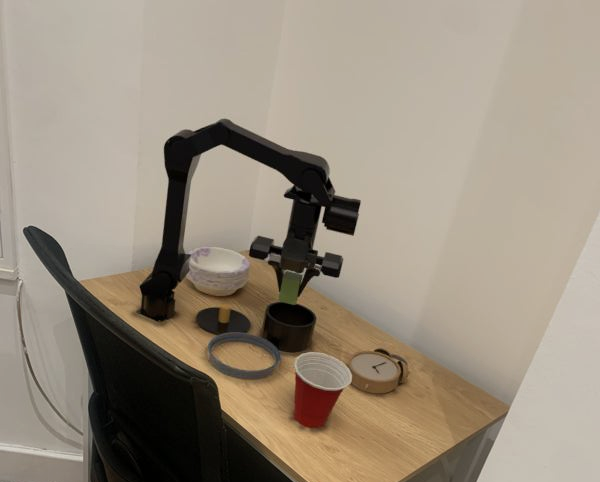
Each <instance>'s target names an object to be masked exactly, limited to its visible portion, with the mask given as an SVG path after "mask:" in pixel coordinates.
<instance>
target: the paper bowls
mask: <svg viewBox="0 0 600 482" xmlns="http://www.w3.org/2000/svg"><path fill="white" fill-rule="evenodd" d="M187 254H191V259H190V261H189V268H190V271H189V272H188V274H187V275H186V276H185V278H187V279H188V280H189V281H190V282H191V283H192V284H193V286H194V287H195V288H196V289H197V290H198V291H199V292H202V293H203V294H207V295H210V296H216V297H227V296H230V295H233V294H234V293H235V292H236V291H237V290H239V289H241V288H243V287H245V286H246V285H247V283H248V280H249V279H248V278H249V272H250V265H251V264H250V261H249V259H248V258H247V257H246V256H244V255H243V254H241V253H239V252H237V251H235V250H231V249H227V248H223V247H216V246H203V247H197V248H194V249H191V250H190V251H188V252H187Z"/></svg>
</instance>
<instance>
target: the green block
mask: <svg viewBox="0 0 600 482" xmlns="http://www.w3.org/2000/svg"><path fill="white" fill-rule="evenodd" d="M302 280H303V274H302V273H296V272H294V271H290V270H285V272H284V276H283V280H282V285H281V290H280V292H279V296H278V302H284V303H288V304H292V305H295V304H296V303H297V301H298V298H299V297H297V296H298V291H299V288H300V285H301V282H302Z"/></svg>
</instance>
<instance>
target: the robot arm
mask: <svg viewBox="0 0 600 482" xmlns="http://www.w3.org/2000/svg"><path fill="white" fill-rule="evenodd" d="M219 146H223V147H225V148H228V149H230V150H232V151H235V152H236V153H238V154H240V155H243V156H245V157H247V158H250V159H251V160H253V161H256V162H257V163H260V164H262V165H264V166H267V167H268V168H270V169H272V170H275V171H276V172H278V173H280V174H281V175H283V177H284V178H286V180H287V181H288V182H289V183H291V184H292V186H291V187H289V188H287V189H286V190H285V192H284V193H283V198H285V199H288V200H292V203H291V204H292V205H291V210H290V214H289V220H288V225H287V231H286V236H285V239H284V241H283V243H282V246H279V245H275V239H274V238H270V237H266V236H263V235H257V236H256V237H254V239H253V240H252V242H251V244H250V246H249V251H248V256H249V257H250V258H252V259H256V260H261V261H264V260H266V259H268V257H269V259H268V261H267V265H268V266H271V267H272V268H273V270H274V273H275V276H276V282H277V287H278V292H279V293H280V290H281V285H282V280H283V276H284V274H285V272H286V271H289V272H293V273H297V274H302V273H304V274H303V276H302V280H301V285H300V288H299V291H298V296H297V297H298V298H300V296H301V295H302V293H303V291H304V290H305V288H306V286H307V285H308V283H309V282H310V281H311V279H313V278H314V277H320V276H321V274H322V275H323V276H327V277H331V278H334V279H337V278H340V275H341V271H342V267H343V263H344V257H343V256H342V255H340V254H336V253H333V252H327V251H325V253H324V256H322V255H318V254H319V250H318V249H317V250H316V249H314V246H315V242H316V241H315V240H316V237H317V231H318V228H319V221H320V217H321V213H322V209H323V208H324V210H323V215H322V218H321V219H322V220H321V223H322V224H323V227H325V230H327V231H332V232H335V233H339V234H344V235H348V236H351V237H353V236H354V235H355V232H356V228H357V225H358V220H359V215H360V214H359V211H360V207H361V203H362V201H361V199H358V198H349V197H346V196H341V195H337V194H336V190H335V187H334V185H333V182H332V181H331V178H330V174H331V173H330V172H331V170H330V165H329V162H328V161H327V160H326V159H325V157H322V156H321V155H317V154H314V153H310V152H306V151H302V150H301V151H300V150H293V149H289V148H287V147H285V146H283V145H280V144H279V143H276V142H274V141H272V140H269V138H265V137H263V136H261V135H259V134H257V133H255V132H253V131H251V130H249V129H247V128H244V127H242V126H240V125H238V124H236V123H235V122H233V121H232V120H230V119H228V118H220V119H219V120H217V121H215V122H214V123H211V124H207V125H205V126H203V127H201V128H198V129H195V130H194V131H193V130H191V129H186V128H185V129H181V130H179V131H178V132H176V133H175V134H174V135H172V136H170V137H169V138H168V139H166V141H165V143H164V144H163V157H164V158H163V159H164V160H163V162H164V169H165V171H166V172H165V173H166V176H167V182H168V183H167V191H166V201H165V208H164V221H163V229H162V239H161V247H160V249H159V252H158V254H157V257H156V259H155V261H154V264H153V267H152V271H151V272H150V273H149V274H148V275H147V277H145V279H144V280H143V281H142V282H141V283H140V284H139V287H138V288H139V290H140V293H141V302H140V303H141V304H140V309H138V310H136V311H135V312H136V314H139V315H141V316H143V317H145V318H148V319H150V320H152V321H154V322H157V323H162V322H164V321H167V320H169V319H171V318H173V317H174V316H175V315H176V314H177V311H175V309H176V299H175V291H174V290H175V289H176V288H177V287H178V286H179V285H180V283H182V281H184V279H185V278H186V275H187V274H188V272H189V271H190V268H189V261H190V259H191V254H188V253H186V251H185V248H184V240H185V233H186V226H187V216H188V209H189V208H188V207H189V202H190V193H191V184H192V180H193V177H194V175H195V173H196V171H197V168H198V165H199V162H200V159H201V156H202V154H204V153H206V152H209V151H210V150H212V149H215V148H217V147H219Z"/></svg>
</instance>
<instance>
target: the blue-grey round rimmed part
mask: <svg viewBox="0 0 600 482" xmlns="http://www.w3.org/2000/svg"><path fill="white" fill-rule="evenodd" d="M227 343H228V344H229V343H244V344H250V345H252V346H256V347H258V348H261V349H263V351H265V352H267V353H268V354H269V355H270V356H271V357H272V359H273V361H274V363H273V365H271V366H269V367H267V368H264V369H255V370H251V369H250V370H249V369H242V368H241V369H240V368H236V367H232V366H230V365H228V364H225V363H223V362H222V361H220V360H219V359H218V358H217V357H216V356H215V355H214V354H213V351H214V349H216V348H217V347H218V346H221V345H224V344H227ZM206 358H207V359H206V360H207V361H208V363H209V364H210V365H211V367H212V368H213V369H215V370H216V371H217V372H219V373H221V374H223V375H225V376H227V377H230V378H235V379H238V380H246V381H257V380H263V379H267V378H269V377H271V376H273V375H274V374H275V373H276V372H277V371H278V369H279V368H280V363H281V359H282V358H281V351H279V350H278V349H277V348H276V347H275V346H274V345H273V344H272V343H271V342H269V341H268V340H266V339H264V338H261V336H259V335H256V334H252V333H248V332H246V333H241V332H230V333H223V334H220V335H215V336H214V337H213V338H211V339H210V341H209V342H208V344H207V349H206Z"/></svg>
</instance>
